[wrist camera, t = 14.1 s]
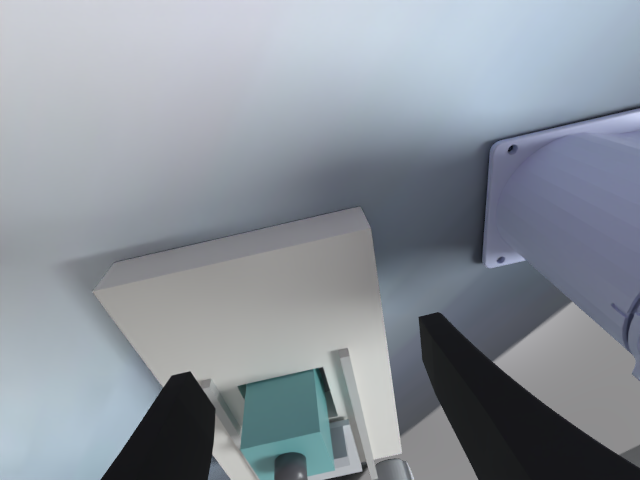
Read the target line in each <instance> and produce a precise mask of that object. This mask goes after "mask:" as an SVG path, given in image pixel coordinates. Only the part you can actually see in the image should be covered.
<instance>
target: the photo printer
mask: <svg viewBox="0 0 640 480" xmlns="http://www.w3.org/2000/svg"><path fill="white" fill-rule="evenodd" d="M375 467H376V471H377V476H378V479H374V480H414V477H413V475H412V472H411V469H410V467H409V465H408V463H407V462H406V461H402V460H401V459H388V460H385V461H382V462H379V463H378V464H376V466H375Z"/></svg>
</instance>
